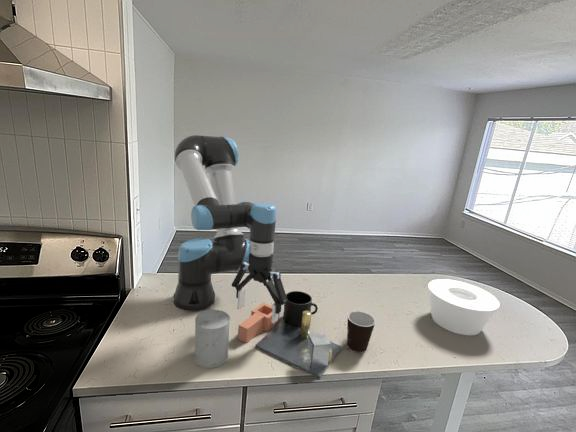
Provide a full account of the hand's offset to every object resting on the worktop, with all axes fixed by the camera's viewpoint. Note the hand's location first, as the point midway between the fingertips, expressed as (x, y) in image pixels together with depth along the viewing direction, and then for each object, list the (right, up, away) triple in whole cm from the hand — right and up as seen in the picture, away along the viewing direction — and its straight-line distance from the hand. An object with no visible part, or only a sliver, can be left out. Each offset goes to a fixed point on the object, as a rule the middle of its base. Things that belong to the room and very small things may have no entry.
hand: (257, 314), depth 107 cm
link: (0, -6, +3) cm, 6 cm away
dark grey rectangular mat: (+13, -9, -5) cm, 17 cm away
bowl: (+74, -9, +19) cm, 77 cm away
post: (+15, -8, +1) cm, 17 cm away
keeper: (+19, -10, -10) cm, 24 cm away
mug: (+14, -5, +10) cm, 18 cm away
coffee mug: (+33, -10, 0) cm, 34 cm away
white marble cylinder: (-12, -9, -12) cm, 19 cm away
